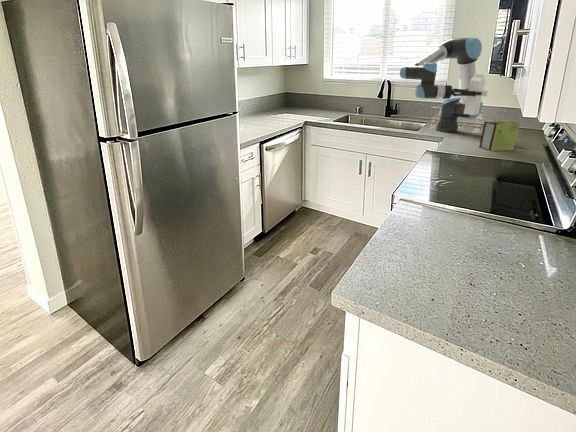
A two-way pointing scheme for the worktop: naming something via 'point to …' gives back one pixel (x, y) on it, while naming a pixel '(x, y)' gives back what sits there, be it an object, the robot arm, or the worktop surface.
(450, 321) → the worktop surface
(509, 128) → the protein box
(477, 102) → the milk
